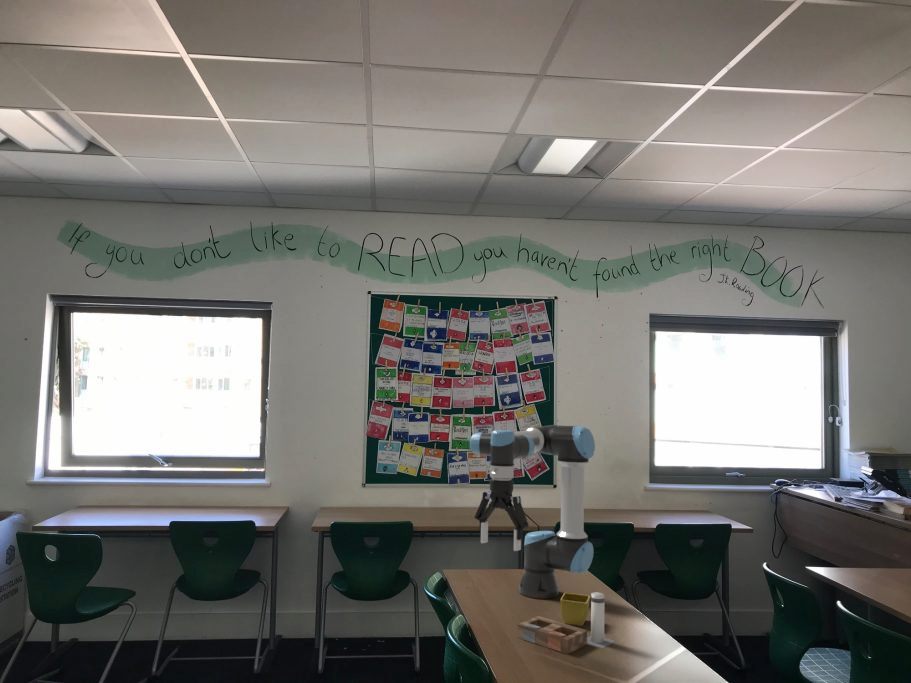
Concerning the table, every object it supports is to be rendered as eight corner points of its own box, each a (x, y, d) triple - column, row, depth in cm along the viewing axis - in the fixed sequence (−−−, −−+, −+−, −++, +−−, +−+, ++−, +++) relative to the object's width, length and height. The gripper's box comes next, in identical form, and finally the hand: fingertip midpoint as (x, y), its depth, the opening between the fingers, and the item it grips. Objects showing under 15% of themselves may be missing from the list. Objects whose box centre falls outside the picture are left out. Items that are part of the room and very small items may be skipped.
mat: (592, 637, 206) (592, 634, 206) (615, 644, 201) (615, 641, 201) (579, 644, 200) (579, 640, 200) (602, 651, 195) (602, 648, 195)
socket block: (537, 632, 210) (538, 615, 210) (587, 647, 198) (587, 629, 198) (517, 641, 201) (517, 623, 202) (567, 657, 189) (567, 638, 190)
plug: (594, 637, 203) (595, 591, 205) (606, 641, 201) (607, 594, 202) (588, 641, 200) (588, 594, 202) (600, 644, 198) (600, 597, 199)
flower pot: (590, 622, 220) (590, 595, 221) (586, 631, 212) (586, 602, 212) (564, 619, 223) (564, 592, 223) (559, 627, 214) (560, 599, 215)
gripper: (465, 475, 215) (463, 541, 213) (525, 484, 198) (524, 555, 196) (480, 474, 221) (478, 538, 219) (540, 482, 203) (539, 551, 202)
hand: (500, 546), depth 208 cm, fingers open, 13 cm apart
